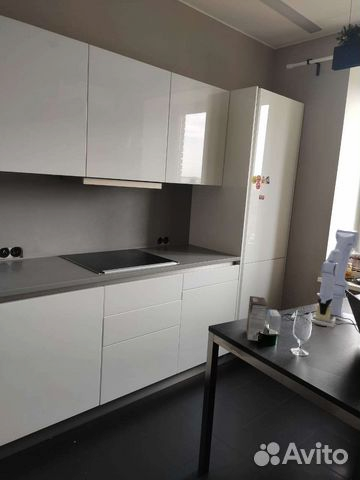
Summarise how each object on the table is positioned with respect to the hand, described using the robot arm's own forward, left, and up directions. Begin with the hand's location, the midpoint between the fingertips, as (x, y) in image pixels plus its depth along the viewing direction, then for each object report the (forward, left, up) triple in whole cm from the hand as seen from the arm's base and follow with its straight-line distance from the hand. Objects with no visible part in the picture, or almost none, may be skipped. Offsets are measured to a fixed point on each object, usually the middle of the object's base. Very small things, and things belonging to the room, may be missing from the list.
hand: (323, 313), depth 173 cm
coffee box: (+37, -22, -5) cm, 43 cm away
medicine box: (+27, -17, -5) cm, 32 cm away
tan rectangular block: (0, 0, -2) cm, 2 cm away
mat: (0, -9, -4) cm, 10 cm away
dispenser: (0, 0, -4) cm, 4 cm away
